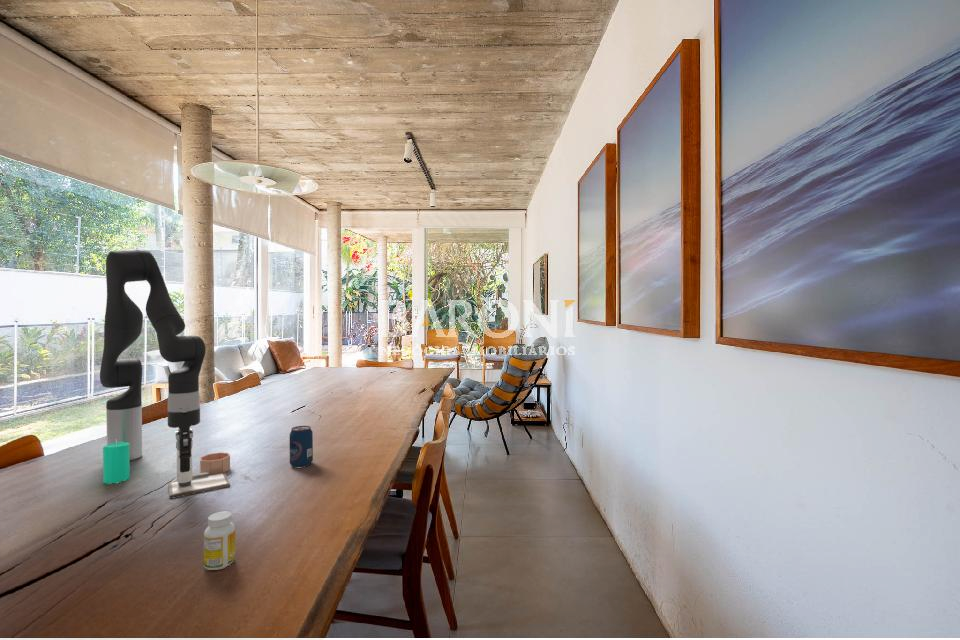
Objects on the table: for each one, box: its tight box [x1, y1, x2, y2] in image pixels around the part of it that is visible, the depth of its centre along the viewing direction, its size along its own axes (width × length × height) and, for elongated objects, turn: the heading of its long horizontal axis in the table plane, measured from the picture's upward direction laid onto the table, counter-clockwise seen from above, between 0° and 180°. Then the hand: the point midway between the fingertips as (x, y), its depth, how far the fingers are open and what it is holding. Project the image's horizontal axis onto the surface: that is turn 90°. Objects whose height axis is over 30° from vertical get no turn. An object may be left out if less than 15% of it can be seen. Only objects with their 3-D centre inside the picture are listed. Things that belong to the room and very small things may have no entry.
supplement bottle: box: [203, 510, 236, 569], centre depth 87 cm, size 5×5×10 cm
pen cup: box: [199, 452, 231, 475], centre depth 138 cm, size 8×8×4 cm
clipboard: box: [168, 472, 231, 499], centre depth 126 cm, size 11×14×2 cm
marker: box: [175, 439, 194, 486], centre depth 124 cm, size 4×4×12 cm
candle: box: [102, 439, 131, 484], centre depth 130 cm, size 6×6×12 cm
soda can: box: [289, 425, 314, 468], centre depth 143 cm, size 7×7×12 cm
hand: (184, 469), depth 124 cm, fingers closed on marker, 3 cm apart
